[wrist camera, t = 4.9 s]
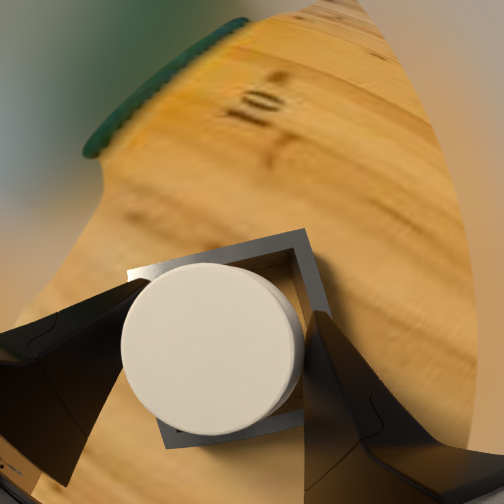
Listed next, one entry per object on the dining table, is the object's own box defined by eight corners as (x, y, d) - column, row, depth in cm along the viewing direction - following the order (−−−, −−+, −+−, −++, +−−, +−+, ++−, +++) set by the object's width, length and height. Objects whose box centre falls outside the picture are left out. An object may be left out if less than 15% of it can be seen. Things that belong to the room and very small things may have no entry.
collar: (340, 398, 16) (354, 407, 13) (178, 435, 16) (165, 449, 13) (297, 244, 20) (304, 228, 17) (144, 281, 19) (127, 270, 16)
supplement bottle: (293, 309, 16) (346, 257, 6) (272, 403, 14) (297, 481, 5) (199, 289, 16) (130, 213, 7) (177, 379, 14) (79, 415, 5)
